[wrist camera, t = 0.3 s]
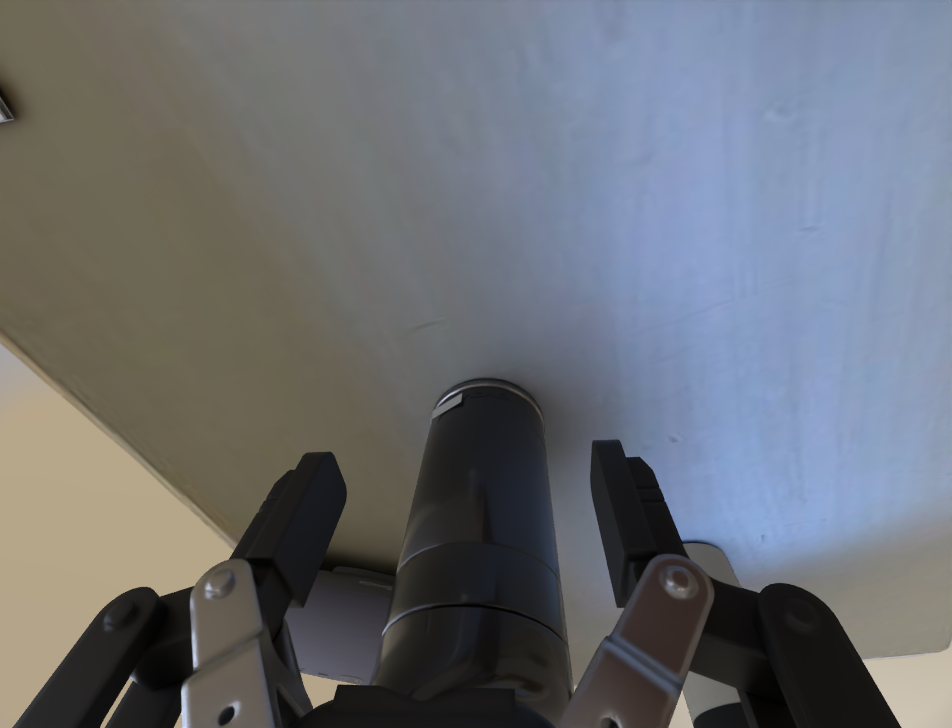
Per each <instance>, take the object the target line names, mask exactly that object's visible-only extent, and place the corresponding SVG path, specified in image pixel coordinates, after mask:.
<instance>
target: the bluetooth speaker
mask: <svg viewBox="0 0 952 728" xmlns="http://www.w3.org/2000/svg"><path fill="white" fill-rule="evenodd" d="M395 577H396V576H392V575H387V574H383V573H378V572H373V571H368V570H364V569H358V568H351V567H341V566H337V567H335V568H334V570H333V571H332V572H330V571H323V570H319V571H318V573H317V576H316V578H315V581H314V583H313V586H312V588H311V591H310V593H309V596H308V598H307V601H306V603H305V606H304V608H288V609H287V611H286V614H285V616H284V618H285V619H286V621H287V623H288V627H289V631H290V635H291V639H292V643H293V646H294V650H295V654H296V658H297V662H298V666H299V670H300V673H304V674H309V675H313V676H318V677H322V678H328V679H332V680H338V681H343V682H348V683H353V684H359V685H368V684H369V682H370V679H371V676H372V673H373V670H374V666H375V662H376V658H377V654H378V649H379V645H380V641H381V638H382V633H383V629H384V625H385V620H386V616H387V612H388V607H389V603H390V599H391V595H392V590H393V586H394V582H395Z"/></svg>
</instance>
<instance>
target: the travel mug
mask: <svg viewBox="0 0 952 728" xmlns="http://www.w3.org/2000/svg"><path fill="white" fill-rule="evenodd" d="M683 546H684V548H685V550H686V552H687V554H688V556H689V558H690V559H691V560H692V561H693V562H695V563H696V564H697V565H699V566H700V567H701V568H702V569H703V570H704V571H705V572H706V574H707V575H709V576H710V577H712V578H714V579H716V580H718V581H720V582H723V583H726V584H730V585H733V586H736V587H740V588H742V587H741V585H740V583H739V581H738V579H737V577H736V575H735V573H734V571H733V569H732V567H731V565H730V563H729V561H728V559H727V557H726V555H725V554H724V553H723V552H722V551H721V550H720V549H718V548H716V547H714V546H711V545H707V544H700V543H687V544H683ZM682 690H683V694H684V696H685V700H686V703H687V707H688V710H689V713H690V717H691V720H692V723H693V726H694V728H750V727H749V724H748V721H747V718H746V715H745V713H744V710H743V707H742V704H741V701H740V698H739V695H738V692H737V689H736V688H734V687H731V686H729V685H726V684H723V683H721V682H718V681H715V680H712V679H710V678H707V677H704V676H702V675H699V674H696V673H694V672H691V671H689V672H688V675H687V677H686V680H685V683H684V686H683V688H682Z"/></svg>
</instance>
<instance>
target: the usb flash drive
mask: <svg viewBox="0 0 952 728" xmlns="http://www.w3.org/2000/svg"><path fill="white" fill-rule="evenodd" d="M10 120H15V119H14V118H13V116H12V114H11V113H10V111H9V110H8V108H7V107H6V105H5V104H4V102H3V100H2V99H1V97H0V123H1V122H6V121H10Z"/></svg>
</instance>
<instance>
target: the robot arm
mask: <svg viewBox="0 0 952 728" xmlns="http://www.w3.org/2000/svg"><path fill="white" fill-rule="evenodd" d="M430 420H431V421H430V431H429V435H428V439H427V443H426V447H425V451H424V455H423V460H422V464H421V468H420V473H419V477H418V481H417V485H416V490H415V494H414V498H413V503H412V507H411V511H410V516H409V520H408V524H407V529H406V533H405V537H404V542H403V546H402V550H401V555H400V559H399V563H398V567H397V572H396V577H395V582H394V586H393V590H392V595H391V599H390V603H389V607H388V612H387V616H386V620H385V625H384V629H383V633H382V638H381V641H380V645H379V649H378V654H377V658H376V662H375V666H374V670H373V673H372V676H371V679H370V682H369V684H368V685H338V686H337V689H336V693H335V696H334V699H333V700H331V701H328V702H326V703H324V704H322V705H320V706H318V707H316V708H314V709H313V706H312V704H311V702H310V699H309V697H308V695H307V693H306V691H305V688H304V685H303V682H302V678H301V674H300V670H299V666H298V662H297V658H296V654H295V650H294V646H293V643H292V639H291V635H290V631H289V627H288V623H287V621H286V619H285V618H284V616H285V614H286V611H287V609H288V608H304V606H305V603H306V601H307V598H308V596H309V593H310V591H311V588H312V586H313V583H314V581H315V578H316V576H317V573H318V571H319V568H320V566H321V563H322V561H323V558H324V556H325V553H326V551H327V548H328V546H329V543H330V541H331V538H332V536H333V533H334V531H335V528H336V526H337V523H338V521H339V518H340V516H341V513H342V511H343V508H344V506H345V503H346V497H347V490H346V485H345V482H344V479H343V477H342V474H341V472H340V469H339V467H338V464H337V461H336V459H335V456H334V455H333V453H332V452H312V453H306V454H304V455H303V457H302V458H301V460H300V462H299V464H298V465H297V467H296V469H295V470H289V471H288V472H287V473H286V474H285V475H284V476H282V477H281V478H280V479H279V480H278V481H277V482H276V483H275V484H274V486H273V488H272V489H271V491H270V493H269V494H268V496H267V499H266V501H264V502H263V504H262V506H261V507H260V509H259V513H257V514H256V516H255V517H254V519H253V521H252V522H251V524H250V525H249V527H248V529H247V530H246V532H245V534H244V535H243V537H242V539H241V540H240V542H239V544H238V545H237V547H236V548H235V550H234V552H233V553H232V555H231V557H230V558H229V560H226V561H224V562H221V563H219V564H217V565H215V566H214V567H212V568H211V569H210V570H208V571H207V572H206V573H205V574H204V575H203V576H202V577H201V578H200V579H199V580H198V582H197V583H196V585H195V586H193V587H189V588H186V589H183V590H180V591H177V592H174V593H170V594H167V595H164V596H161V597H159V596H158V595H157V593H156V592H155V591H154V590H153V589H151V588H149V587H139V588H135V589H132V590H129V591H127V592H125V593H123V594H121V595H120V596H118V597H116V598H115V599H114V600H112V601H111V602H110V603H109V604H107V605H106V606H105V607H104V608H103V609H102V610H101V611H100V612H99V614H98V615H97V616H96V617H95V618H94V620H93V621H92V622H91V624H90V625H89V627H88V628H87V629H86V630H85V632H84V633H83V634H82V636H81V637H80V638H79V640H78V641H77V643H76V644H75V645H74V647H73V648H72V649H71V650H70V652H69V653H68V654H67V656H66V657H65V659H64V660H63V661H62V662H61V664H60V665H59V666H58V668H57V669H56V670H55V672H54V673H53V674H52V676H51V677H50V678H49V680H48V681H47V683H46V684H45V685H44V687H43V688H42V689H41V690H40V692H39V693H38V695H37V696H36V697H35V698H34V700H33V701H32V702H31V704H30V705H29V707H28V708H27V709H26V710H25V712H24V713H23V714H22V716H21V717H20V718H19V720H18V721H17V722H16V724H15V725H14V727H13V728H100V726H101V724H102V722H103V720H104V718H105V716H106V715H107V713H108V712H109V710H110V708H111V707H112V705H113V703H114V702H115V700H116V698H117V697H118V695H119V693H120V692H121V690H122V689H123V687H124V685H125V684H126V682H127V680H128V679H129V677H130V678H131V679H132V680H133V682H132V683H131V685H130V687H129V688H128V690H127V692H126V694H125V695H124V697H123V698H122V700H121V702H120V703H119V705H118V707H117V708H116V710H115V712H114V713H113V715H112V717H111V719H110V720H109V722H108V723H107V725H106V727H105V728H174V726H175V724H176V722H177V720H178V717H179V715H180V713H181V711H182V728H668V727H669V724H670V721H671V718H672V716H673V713H674V710H675V707H676V705H677V702H678V699H679V697H680V694H681V691H682V688H683V686H684V683H685V680H686V677H687V675H688V672H689V671H691V672H694V673H696V674H699V675H702V676H704V677H707V678H710V679H712V680H715V681H718V682H721V683H723V684H726V685H729V686H731V687H734V688H736V689H737V692H738V695H739V698H740V701H741V704H742V707H743V710H744V713H745V715H746V718H747V721H748V724H749V727H750V728H901V726H900V725H899V723H898V721H897V719H896V718H895V716H894V714H893V713H892V711H891V709H890V707H889V706H888V704H887V702H886V701H885V699H884V697H883V695H882V694H881V692H880V691H879V689H878V687H877V685H876V684H875V682H874V680H873V679H872V677H871V675H870V673H869V672H868V670H867V668H866V666H865V665H864V663H863V661H862V660H861V658H860V656H859V655H858V653H857V651H856V649H855V648H854V646H853V644H852V643H851V641H850V639H849V638H848V636H847V634H846V632H845V631H844V629H843V627H842V626H841V624H840V622H839V620H838V619H837V617H836V616H835V614H834V613H833V612H832V611H831V609H830V608H829V607H828V606H827V605H826V604H825V603H824V602H823V601H821V600H820V599H819V598H818V597H816V596H815V595H813V594H812V593H810V592H808V591H806V590H804V589H802V588H800V587H797V586H794V585H790V584H785V583H775V584H770V585H768V586H766V587H765V588H764V589H762V591H761V592H760V593H757V592H754V591H750V590H747V589H743V588H740V587H736V586H733V585H730V584H726V583H723V582H720V581H718V580H716V579H714V578H712V577H710V576H709V575H707V574H706V572H705V571H704V570H703V569H702V568H701V567H700V566H699V565H697V564H696V563H695V562H693V561H692V560H691V559H690V558H689V556H688V554H687V552H686V550H685V548H684V546H683V543H682V541H681V538H680V536H679V533H678V531H677V528H676V526H675V523H674V521H673V519H672V516H671V514H670V511H669V509H668V506H667V504H666V502H665V501H664V496H663V494H662V492H661V489H659V484H658V482H657V479H656V477H655V474H654V472H653V470H652V469H651V468H650V467H649V466H648V465H647V464H646V463H645V462H644V461H643V460H642V459H641V458H640V457H626V456H625V454H624V451H623V448H622V445H621V442H620V441H619V440H594V441H593V442H592V455H591V474H590V482H591V492H592V498H593V503H594V507H595V512H596V516H597V521H598V525H599V530H600V534H601V538H602V543H603V547H604V552H605V556H606V561H607V565H608V570H609V574H610V579H611V583H612V588H613V592H614V596H615V601H616V605H617V608H625V609H624V611H623V612H622V614H621V616H620V618H619V620H618V622H617V624H616V626H615V628H614V630H613V631H612V633H611V634H610V635H609V636H606V637H605V638H604V639H603V640H602V642H601V643H600V645H599V647H598V648H597V650H596V652H595V654H594V656H593V658H592V659H591V661H590V663H589V665H588V667H587V669H586V671H585V673H584V674H583V676H582V678H581V680H580V682H579V684H578V686H577V688H576V689H575V691H574V686H573V677H572V669H571V661H570V654H569V645H568V637H567V628H566V620H565V611H564V603H563V594H562V588H561V579H560V571H559V562H558V553H557V545H556V536H555V527H554V519H553V510H552V501H551V493H550V484H549V476H548V467H547V458H546V448H545V439H544V420H543V415H542V412H541V410H540V408H539V406H538V404H537V403H536V401H535V400H534V399H533V398H532V397H531V396H530V395H529V394H528V393H526V392H525V391H524V390H522V389H521V388H519V387H517V386H515V385H512V384H510V383H507V382H503V381H499V380H490V379H480V380H473V381H468V382H464V383H462V384H459V385H457V386H455V387H453V388H451V389H450V390H448V391H447V392H446V393H445V394H444V395H442V397H441V398H440V399H439V400H438V402H437V403H436V405H435V407H434V409H433V411H432V415H431V419H430Z"/></svg>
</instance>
